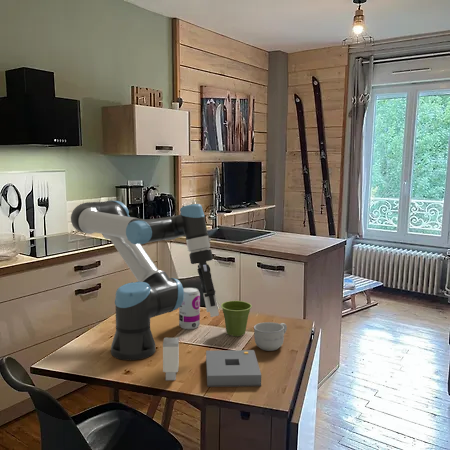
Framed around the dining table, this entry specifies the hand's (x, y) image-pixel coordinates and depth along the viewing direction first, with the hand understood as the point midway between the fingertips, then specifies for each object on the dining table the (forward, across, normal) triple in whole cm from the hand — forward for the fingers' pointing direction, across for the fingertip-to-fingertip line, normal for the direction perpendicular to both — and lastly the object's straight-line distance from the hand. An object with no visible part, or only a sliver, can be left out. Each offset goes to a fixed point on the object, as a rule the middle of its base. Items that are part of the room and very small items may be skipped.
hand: (212, 313), depth 153 cm
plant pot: (+13, +26, -9) cm, 30 cm away
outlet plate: (+18, -6, -2) cm, 20 cm away
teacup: (+18, +12, -19) cm, 29 cm away
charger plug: (+15, -8, +17) cm, 24 cm away
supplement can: (+8, +35, +8) cm, 36 cm away
